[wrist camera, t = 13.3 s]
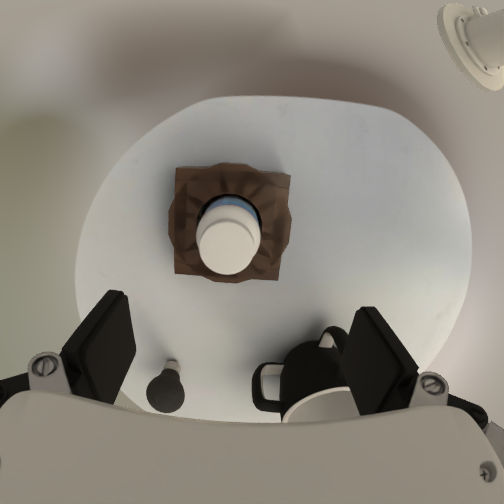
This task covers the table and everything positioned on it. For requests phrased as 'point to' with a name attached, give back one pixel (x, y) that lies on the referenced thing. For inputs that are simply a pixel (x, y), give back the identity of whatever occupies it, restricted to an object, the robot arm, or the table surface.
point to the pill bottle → (228, 234)
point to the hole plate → (230, 182)
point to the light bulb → (166, 389)
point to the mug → (309, 382)
